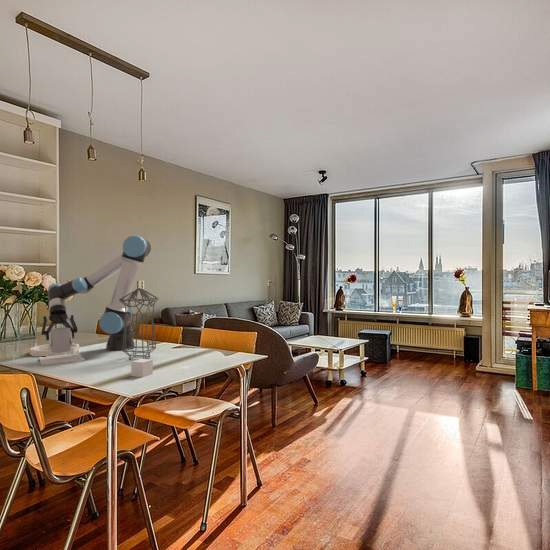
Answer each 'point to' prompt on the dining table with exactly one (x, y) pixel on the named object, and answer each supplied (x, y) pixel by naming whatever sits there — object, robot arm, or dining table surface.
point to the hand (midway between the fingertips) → (61, 344)
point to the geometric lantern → (136, 321)
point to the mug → (60, 340)
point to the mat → (60, 359)
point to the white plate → (46, 350)
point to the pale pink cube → (141, 367)
